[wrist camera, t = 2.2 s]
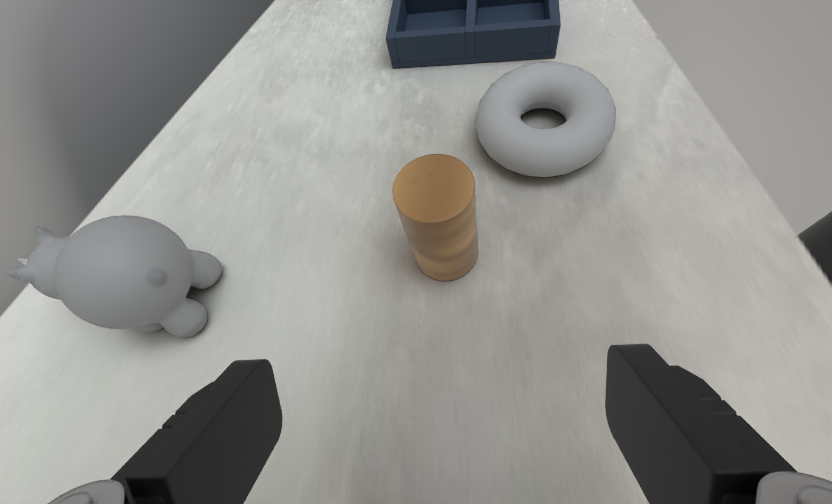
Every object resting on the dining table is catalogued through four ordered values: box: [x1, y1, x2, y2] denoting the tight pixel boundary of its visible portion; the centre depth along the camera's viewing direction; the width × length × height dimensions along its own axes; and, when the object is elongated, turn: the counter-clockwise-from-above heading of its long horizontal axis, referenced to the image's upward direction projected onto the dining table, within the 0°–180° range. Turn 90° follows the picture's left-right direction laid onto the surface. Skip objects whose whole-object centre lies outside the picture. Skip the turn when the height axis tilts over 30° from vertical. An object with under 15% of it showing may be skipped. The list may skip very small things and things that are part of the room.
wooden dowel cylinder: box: [392, 154, 478, 281], centre depth 25 cm, size 4×4×8 cm
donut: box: [475, 62, 616, 177], centre depth 30 cm, size 10×4×10 cm
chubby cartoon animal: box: [7, 216, 222, 338], centre depth 27 cm, size 7×12×8 cm, turn 80°
